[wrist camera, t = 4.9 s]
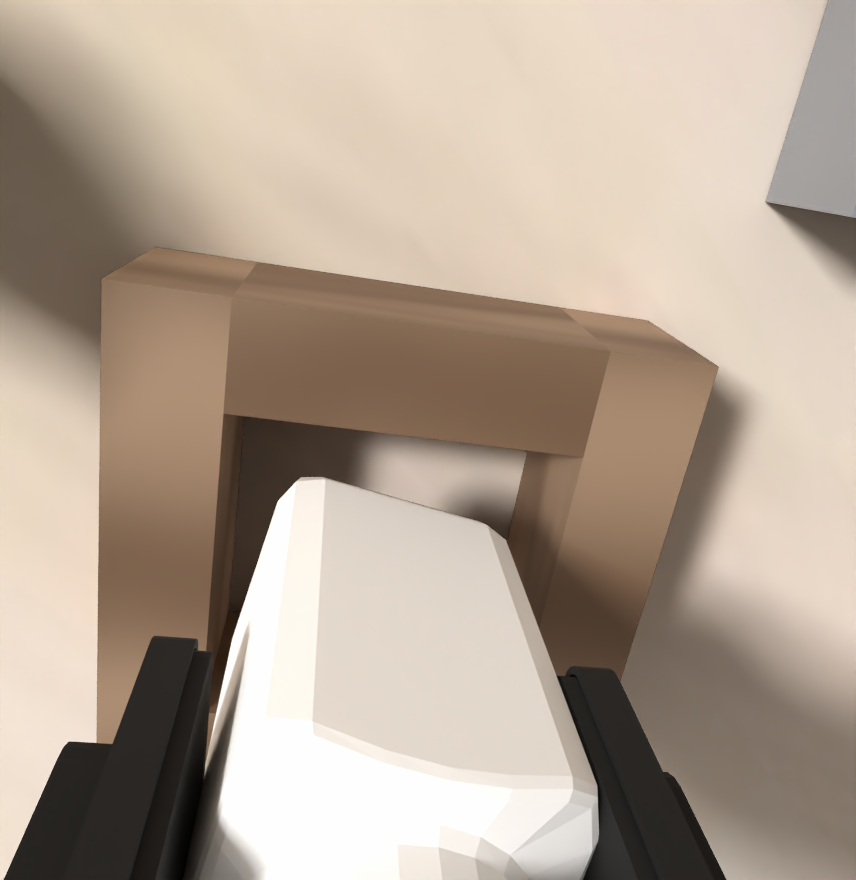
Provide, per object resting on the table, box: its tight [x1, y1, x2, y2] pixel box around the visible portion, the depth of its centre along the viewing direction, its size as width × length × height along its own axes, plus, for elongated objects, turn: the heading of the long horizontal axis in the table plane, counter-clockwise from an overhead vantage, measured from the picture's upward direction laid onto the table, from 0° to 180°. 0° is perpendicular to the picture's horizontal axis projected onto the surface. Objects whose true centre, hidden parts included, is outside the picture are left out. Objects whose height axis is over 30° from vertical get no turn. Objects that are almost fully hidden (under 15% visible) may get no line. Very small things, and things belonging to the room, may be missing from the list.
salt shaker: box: [183, 477, 599, 880], centre depth 9 cm, size 4×4×10 cm
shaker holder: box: [97, 247, 718, 764], centre depth 16 cm, size 10×10×4 cm
